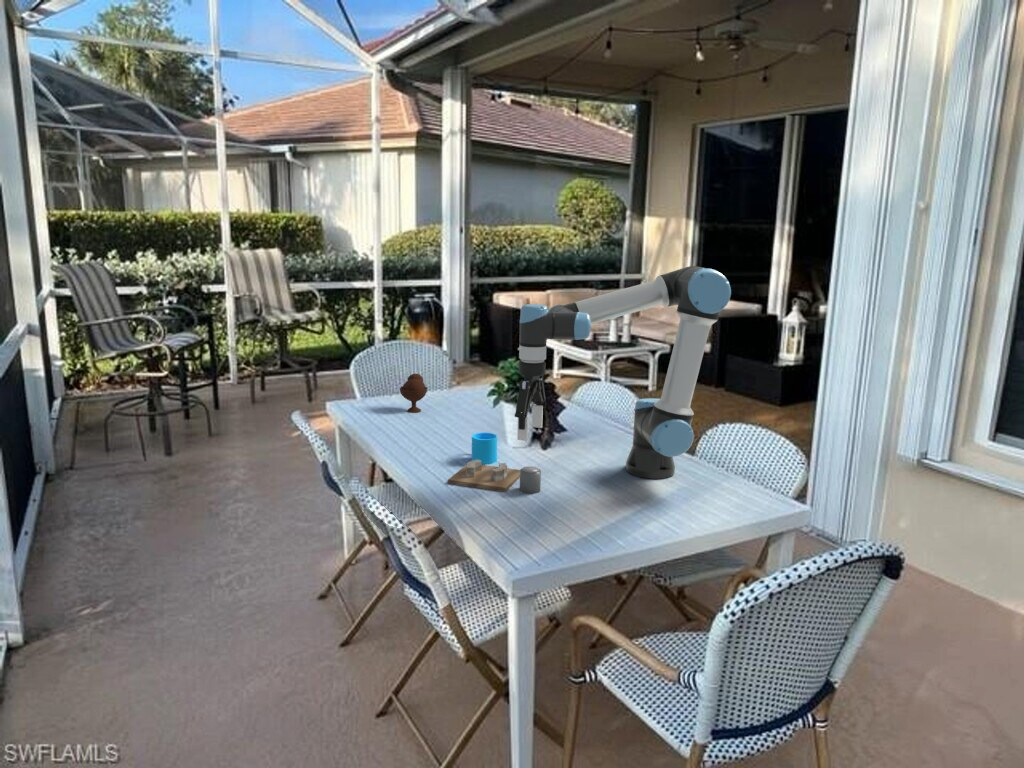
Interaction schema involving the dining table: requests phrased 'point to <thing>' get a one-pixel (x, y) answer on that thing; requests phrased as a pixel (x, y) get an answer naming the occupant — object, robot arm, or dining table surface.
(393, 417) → the dining table surface
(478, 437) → the mug
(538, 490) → the cap
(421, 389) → the ice cream bowl
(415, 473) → the dining table surface
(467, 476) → the board
